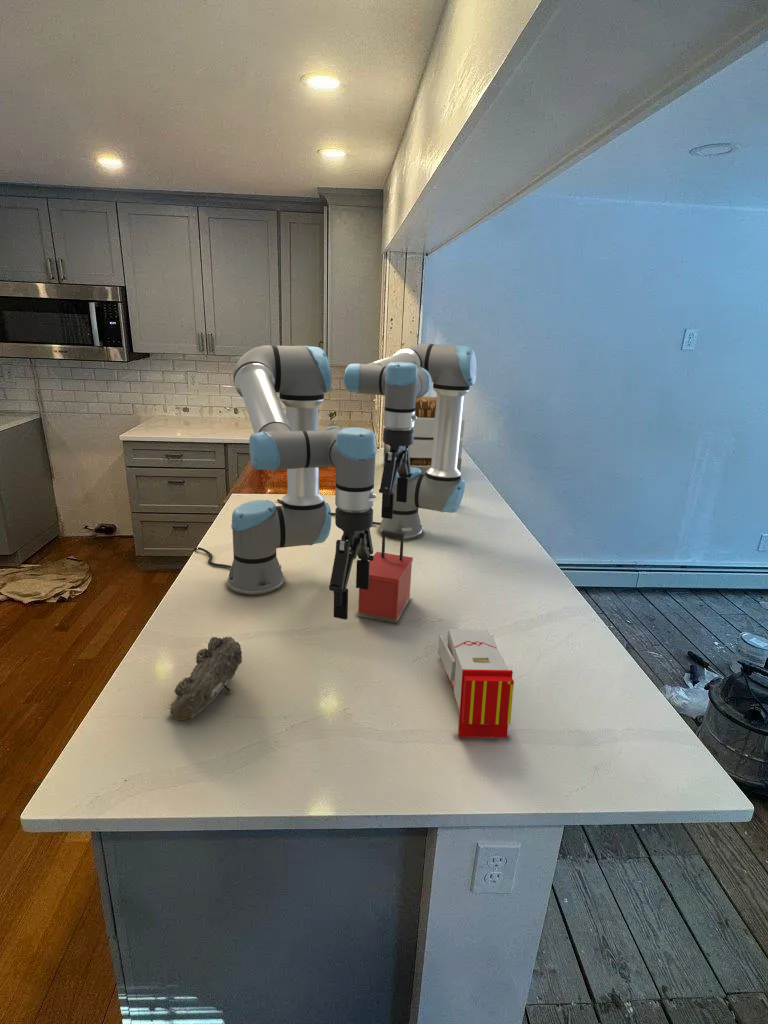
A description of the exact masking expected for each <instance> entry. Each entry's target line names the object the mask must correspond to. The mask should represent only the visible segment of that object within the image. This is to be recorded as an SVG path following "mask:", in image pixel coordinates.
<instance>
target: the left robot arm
mask: <svg viewBox="0 0 768 1024" xmlns="http://www.w3.org/2000/svg"><path fill="white" fill-rule="evenodd" d="M232 382H233V384H234V385H233V386H234V388H235V391H236V393H237V394H238V395H239V396H240V398H242V399H243V403H244V405H245V408H246V412H247V414H248V417H249V420H250V423H251V426H252V427H251V428H252V430H253V433H251V434H250V437H249V439H248V440H249V442H248V448H249V458H250V463H251V466H252V468H253V469H255V470H257V471H270V472H273V471H274V472H275V471H279V470H280V471H281V470H286V483H287V484H286V486H287V487H286V489H287V493H286V494H285V495H283V497H282V500H281V501H282V503H281V504H282V505H276V503H275V502H274V501H272V500H268V499H255V500H250V501H246V502H243V503H242V504H240V505H238V506H237V507H235V508H234V509H233V511H232V512H231V513H232V514H231V525H230V527H231V530H232V552H233V560H232V563H231V565H230V564H223V563H217V562H213V561H212V559H213V553H211V552H210V551H208V550H207V549H205V548H203V547H198V546H197V547H195V548H193V550H192V551H193V552H196V551H198V550H199V551H202V552H204V553H206V554H207V555H208V556H209V558H208V560H207V561H208V564H209V565H212V566H215V567H222V568H226V569H227V568H228V569H230V570H229V574H228V579H227V585H228V588H229V589H230V590H231V591H232V592H234V593H236V594H240V595H244V596H262V595H267V594H271V593H273V592H276V591H277V590H279V589H280V588H281V587H282V586H283V584H284V581H285V580H284V579H285V578H284V573H283V571H282V568H283V567H282V564H280V562H279V559H278V557H277V556H278V555H277V549H282V548H283V549H284V548H291V547H293V548H294V547H302V546H313V545H319V544H323V543H324V542H326V540H327V539H328V538H329V535H330V532H331V529H332V528H331V527H332V515H331V513H332V511H331V506H330V504H329V503H328V502H326V501H325V497H324V496H323V495H322V494H321V493H320V476H319V475H320V473H319V472H320V471H319V469H320V468H328V467H329V468H330V467H333V468H335V496H334V497H335V499H334V501H335V503H334V505H335V506H336V508H335V510H334V511H335V512H334V513H335V515H334V519H335V521H334V522H335V523H334V524H335V526H336V527H337V528H338V529H340V530H341V531H342V532H343V533H342V535H341V537H340V539H336V541H335V554H334V559H333V565H332V570H331V571H332V572H331V577H330V582H329V585H328V590H329V591H331V592H333V618H336V619H342V620H347V619H348V618H349V617H348V615H349V614H348V613H349V588H348V583H349V580H350V575H351V571H352V568H353V567H352V566H353V562H354V560H355V559H357V558H358V559H357V560H356V569H355V570H356V574H355V575H356V577H355V588H356V589H359V588H360V589H366V590H368V589H369V564H370V562H369V561H373V560H374V547H373V540H372V534H371V528H372V527H373V525H374V524H373V522H374V509H373V506H374V499H376V498H377V494H376V493H374V490H375V473H376V454H377V445H376V444H377V443H376V441H377V440H376V434H375V432H374V431H373V430H371V429H369V428H363V427H341V426H337V425H331V426H328V427H326V428H325V429H322V430H321V429H320V430H319V406H320V405H321V404H322V403H323V402H324V400H325V394H327V393H329V392H330V391H331V388H332V371H331V365H330V362H329V359H328V356H327V353H326V352H325V351H324V349H323V348H321V347H318V346H312V345H311V346H310V345H267V344H265V345H264V344H263V345H260V346H256V347H253V348H252V349H250V350H248V351H246V352H245V353H244V354H243V355H242V356H241V357H240V358H239V360H238V361H237V363H236V364H235V367H234V369H233V373H232ZM277 393H278V394H279V397H278V394H277ZM281 403H282V404H283V405H284V406H285V410H284V408H283V406H282V404H281ZM197 548H198V549H197Z"/></svg>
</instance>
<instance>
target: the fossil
mask: <svg viewBox="0 0 768 1024" xmlns="http://www.w3.org/2000/svg"><path fill="white" fill-rule="evenodd" d="M242 654H243V653H242V648H241V644H240V642H238V641H236V640H235V638H233V637H232V636H225V637H224V636H223V637H217V636H213V637H212V636H211V638H209V642H208V643H207V648H201V649H199V650H198V651H197V652H196V657H195V660H196V661H195V663H196V665H194V668H193V669H192V671H191V673H190V676H189V677H188V676H187V677H184V678H183V679H182V680H181V681H180V682H178V684H176V686H175V688H174V691H173V692H174V694H175V695H176V696H177V697H176V698H174V701H172V702H171V703H170V708H169V712H170V718H172V719H175V720H177V721H183V720H188V719H194V718H195V717H196V716H198V714H199V713H200V712H201V711H203V710H205V708H206V707H207V706H208V705H209V704H210V703H211V702H212V701H214V699H216V698H217V696H218V695H219V692H221V691H222V690H223V689H225V690H226V691H227V692H229V693H230V692H232V690H231V689H230V687H229V686H228V685H227V683H228V681H230V680H232V679H233V678H234V676H236V675H235V674H236V672H237V670H238V668H239V666H240V665H241V664H242V662H243V656H242Z"/></svg>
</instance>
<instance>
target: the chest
mask: <svg viewBox="0 0 768 1024" xmlns="http://www.w3.org/2000/svg"><path fill="white" fill-rule="evenodd" d="M412 565H413V562H412V563H411V565H410V566H409V568H408V569H407V571H406V573H405V574H404V576H403V577H402V579H401V581H400V582H399V584H396V583H390V582H384V581H379V580H373V579H369V589H368V590H366V589H360V588H358V610H357V611H358V612H357V617H362V618H366V619H371V620H377V621H381V622H387V623H391V624H397V623H398V621H399V619H400V618H401V617H402V614H403V613H404V610H405V609H406V607H407V605H408V603H409V601H410V599H411V582H412V580H411V579H412Z"/></svg>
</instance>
